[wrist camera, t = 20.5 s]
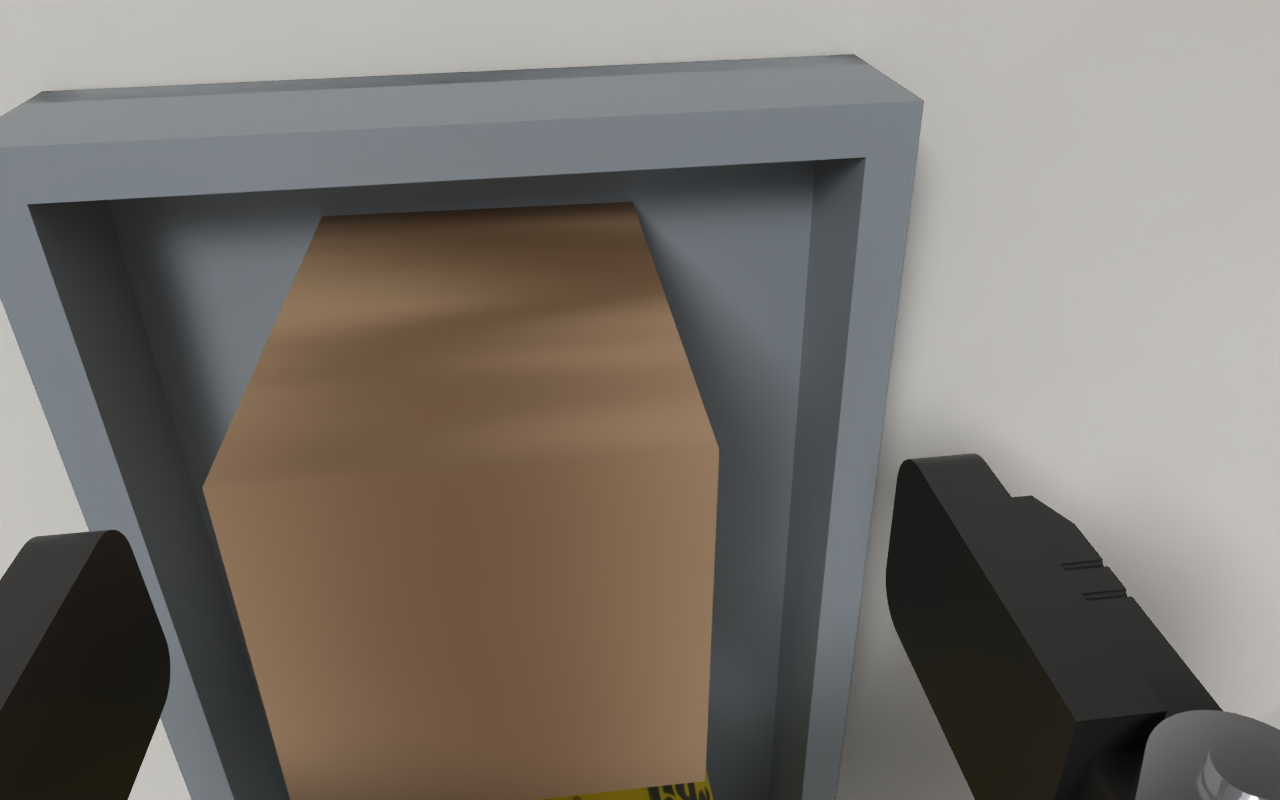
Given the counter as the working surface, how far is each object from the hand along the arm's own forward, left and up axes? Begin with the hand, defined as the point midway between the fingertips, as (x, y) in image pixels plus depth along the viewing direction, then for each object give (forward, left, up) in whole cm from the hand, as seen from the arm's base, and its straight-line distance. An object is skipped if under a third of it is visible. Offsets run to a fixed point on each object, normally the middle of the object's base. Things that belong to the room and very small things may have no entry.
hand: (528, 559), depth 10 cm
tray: (0, +4, -5) cm, 6 cm away
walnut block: (0, 0, -4) cm, 4 cm away
